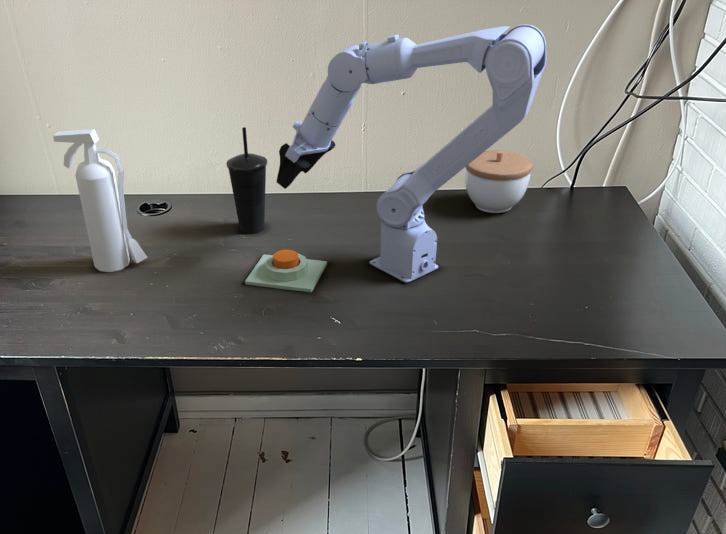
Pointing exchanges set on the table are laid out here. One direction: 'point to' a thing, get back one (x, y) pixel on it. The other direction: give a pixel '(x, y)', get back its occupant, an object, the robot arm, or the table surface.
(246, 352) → the table surface
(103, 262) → the fire extinguisher
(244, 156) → the drinking cup
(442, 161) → the robot arm
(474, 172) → the lidded bowl
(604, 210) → the table surface
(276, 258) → the button
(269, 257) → the button block
